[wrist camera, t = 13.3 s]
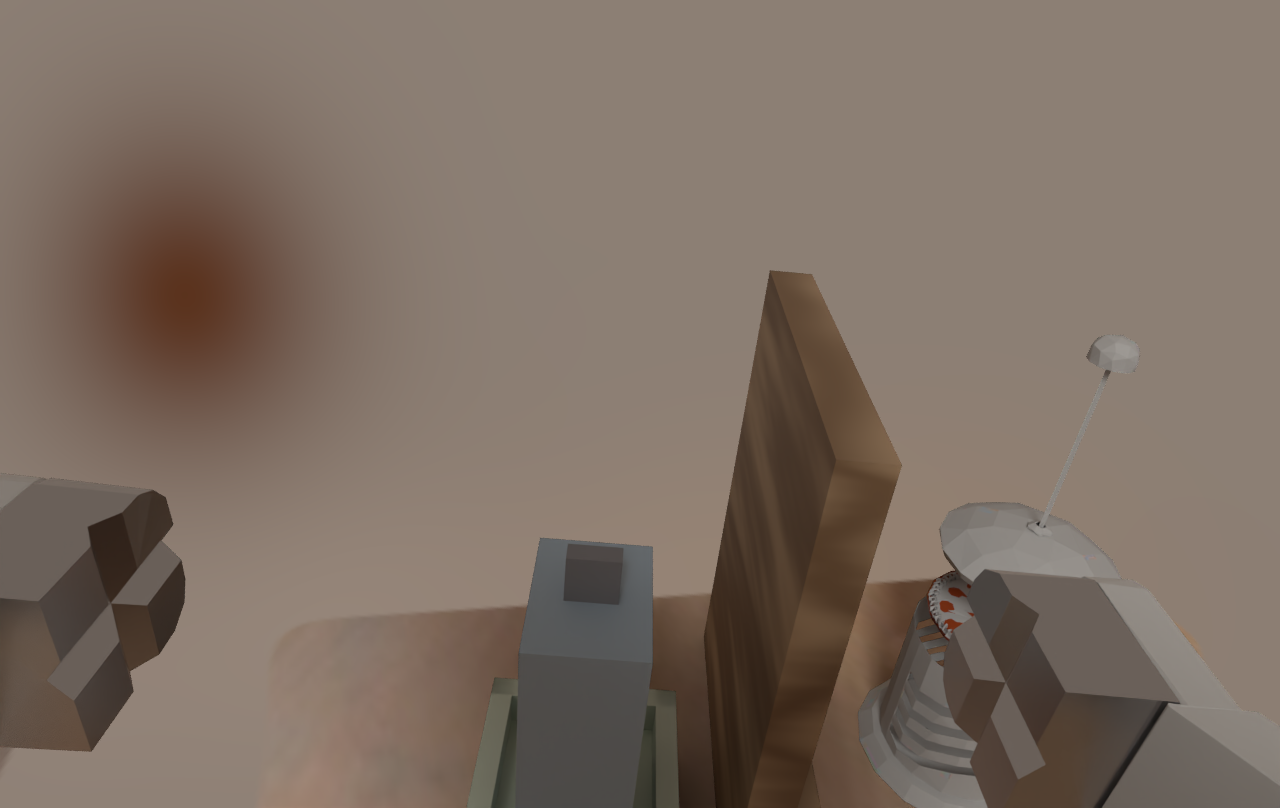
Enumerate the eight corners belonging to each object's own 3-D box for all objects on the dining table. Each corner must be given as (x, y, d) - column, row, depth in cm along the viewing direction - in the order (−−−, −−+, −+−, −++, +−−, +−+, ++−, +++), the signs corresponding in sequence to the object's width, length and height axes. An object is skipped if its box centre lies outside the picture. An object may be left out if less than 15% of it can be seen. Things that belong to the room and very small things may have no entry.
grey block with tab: (513, 875, 33) (519, 608, 26) (532, 749, 39) (541, 497, 31) (621, 882, 34) (658, 619, 26) (626, 756, 39) (657, 506, 31)
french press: (870, 653, 50) (995, 273, 38) (1071, 724, 47) (1281, 332, 34) (843, 782, 42) (989, 353, 30) (1083, 879, 39) (1362, 441, 26)
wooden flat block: (723, 903, 36) (836, 459, 24) (703, 636, 50) (770, 270, 38) (833, 911, 36) (999, 473, 24) (783, 642, 50) (874, 280, 38)
